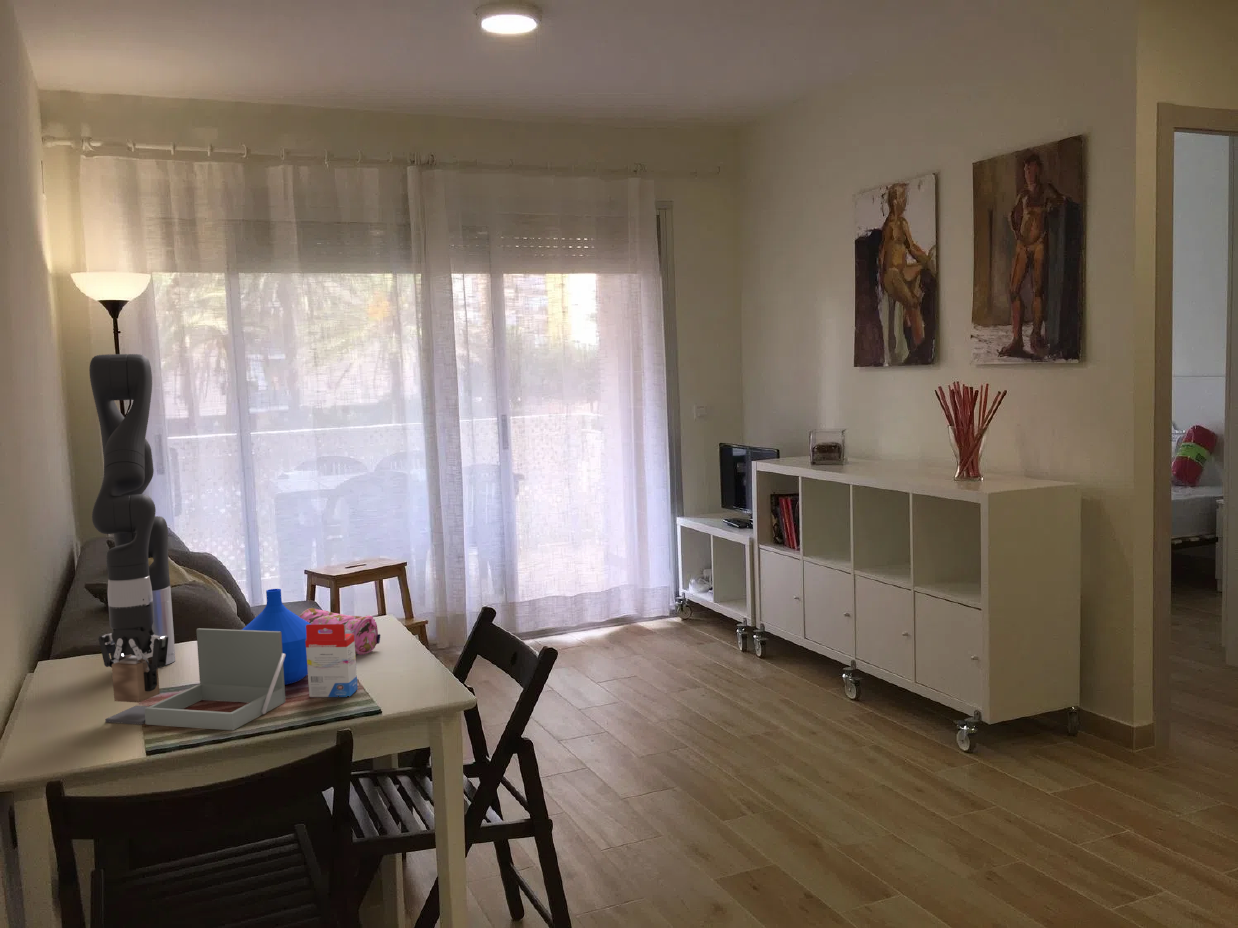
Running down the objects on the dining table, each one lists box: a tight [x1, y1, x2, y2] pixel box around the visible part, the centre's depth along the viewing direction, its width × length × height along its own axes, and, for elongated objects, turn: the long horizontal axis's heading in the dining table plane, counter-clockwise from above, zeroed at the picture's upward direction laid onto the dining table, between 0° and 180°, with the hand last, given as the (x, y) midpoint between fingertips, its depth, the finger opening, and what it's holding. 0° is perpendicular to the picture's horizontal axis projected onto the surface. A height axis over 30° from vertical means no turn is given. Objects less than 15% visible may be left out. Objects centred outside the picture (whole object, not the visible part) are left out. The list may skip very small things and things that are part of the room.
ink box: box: [305, 624, 359, 698], centre depth 203 cm, size 8×5×15 cm, turn 84°
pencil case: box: [298, 607, 381, 656], centre depth 239 cm, size 21×9×9 cm, turn 59°
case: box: [145, 627, 286, 731], centre depth 193 cm, size 19×16×14 cm
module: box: [111, 656, 160, 704], centre depth 193 cm, size 6×6×8 cm
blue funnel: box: [241, 588, 320, 685], centre depth 214 cm, size 18×18×19 cm
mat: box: [104, 705, 150, 725], centre depth 194 cm, size 8×8×1 cm
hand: (136, 689), depth 193 cm, fingers closed on module, 5 cm apart
